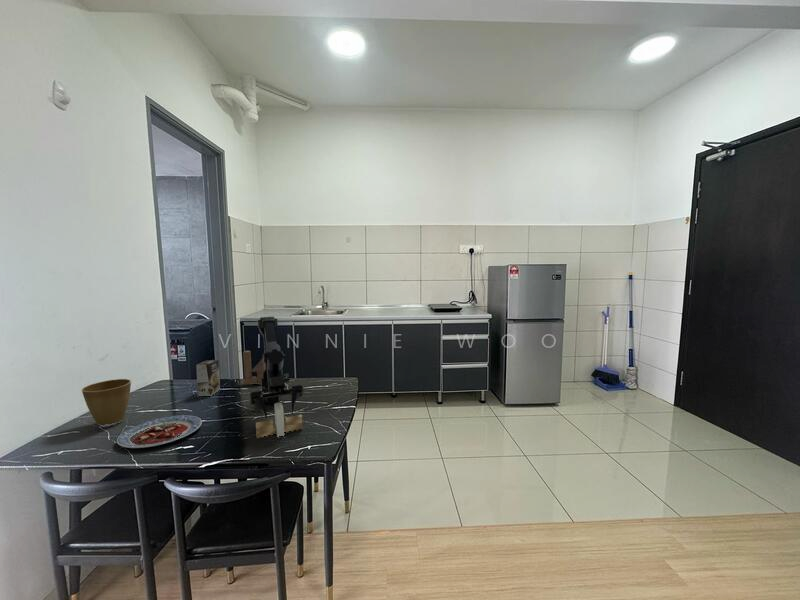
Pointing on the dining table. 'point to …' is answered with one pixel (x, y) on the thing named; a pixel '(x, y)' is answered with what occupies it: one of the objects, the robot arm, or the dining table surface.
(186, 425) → the ceramic plate
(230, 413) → the dining table surface
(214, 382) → the coffee box
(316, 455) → the dining table surface
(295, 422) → the notched base plate
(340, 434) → the dining table surface
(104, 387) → the plant pot
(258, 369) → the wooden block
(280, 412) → the grey tapered block
